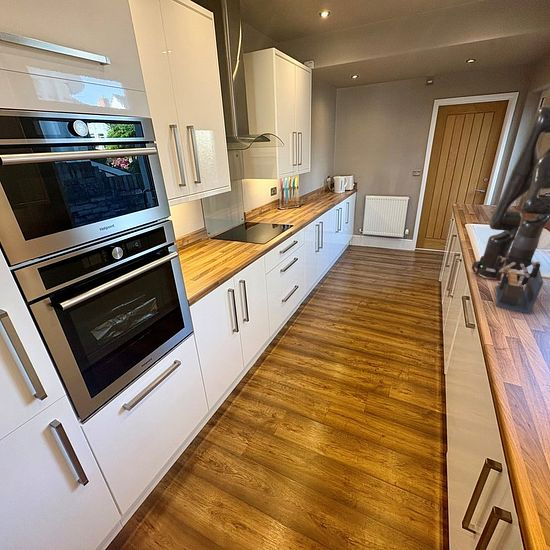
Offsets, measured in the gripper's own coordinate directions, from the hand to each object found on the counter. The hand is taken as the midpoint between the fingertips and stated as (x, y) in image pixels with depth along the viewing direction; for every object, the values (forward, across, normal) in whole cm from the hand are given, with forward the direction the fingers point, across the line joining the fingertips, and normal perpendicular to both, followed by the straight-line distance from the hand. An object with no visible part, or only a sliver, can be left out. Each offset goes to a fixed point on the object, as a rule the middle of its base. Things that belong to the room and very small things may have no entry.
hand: (510, 282), depth 122 cm
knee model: (+9, -1, -44) cm, 45 cm away
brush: (+1, -1, +1) cm, 2 cm away
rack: (+8, -3, -1) cm, 9 cm away
